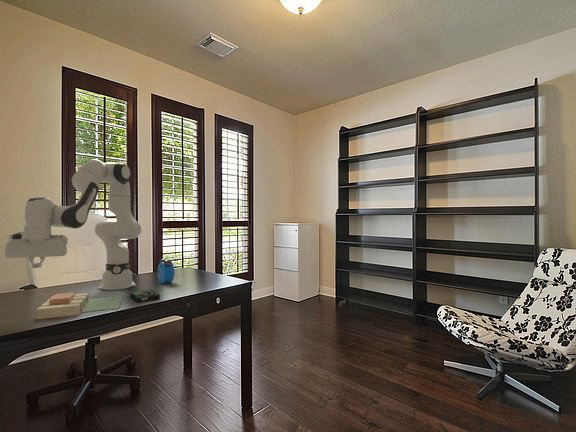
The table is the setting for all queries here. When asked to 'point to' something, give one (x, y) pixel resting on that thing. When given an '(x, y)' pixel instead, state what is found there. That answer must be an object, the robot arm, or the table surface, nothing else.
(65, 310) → the riser
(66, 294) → the orange flat block
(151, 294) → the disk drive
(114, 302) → the mat
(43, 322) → the table surface
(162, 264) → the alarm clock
